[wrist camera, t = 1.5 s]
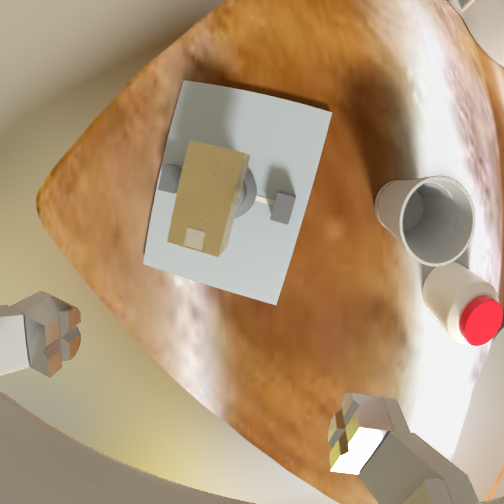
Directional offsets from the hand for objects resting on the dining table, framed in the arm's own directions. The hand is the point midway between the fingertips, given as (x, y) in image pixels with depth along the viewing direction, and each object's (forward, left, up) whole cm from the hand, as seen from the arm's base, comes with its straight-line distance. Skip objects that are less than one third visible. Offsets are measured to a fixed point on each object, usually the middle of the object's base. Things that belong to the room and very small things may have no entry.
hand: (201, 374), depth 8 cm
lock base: (-2, -6, -31) cm, 31 cm away
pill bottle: (+2, +25, -31) cm, 40 cm away
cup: (-6, +14, -31) cm, 34 cm away
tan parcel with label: (-2, -6, -23) cm, 24 cm away
